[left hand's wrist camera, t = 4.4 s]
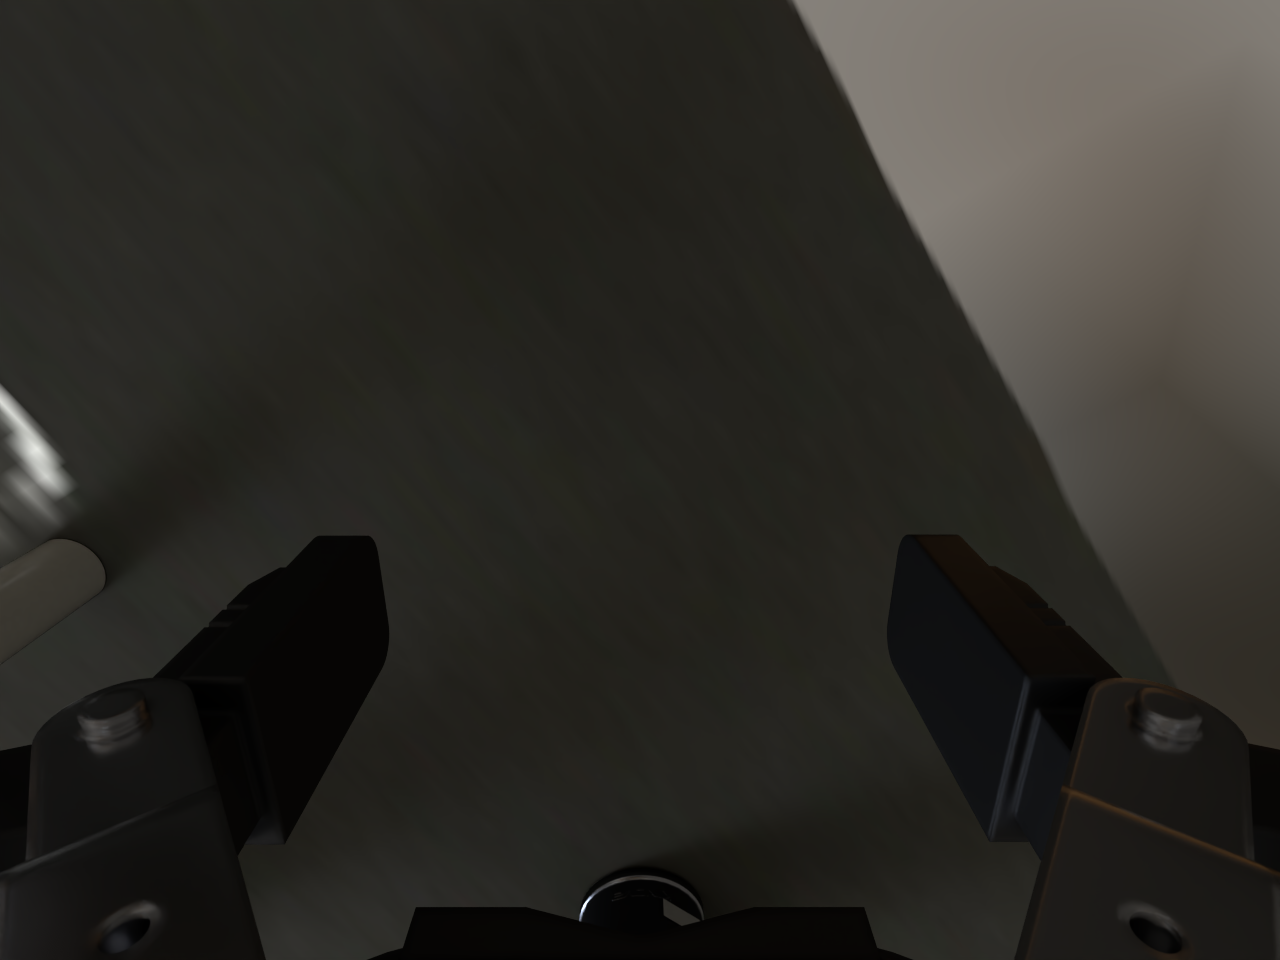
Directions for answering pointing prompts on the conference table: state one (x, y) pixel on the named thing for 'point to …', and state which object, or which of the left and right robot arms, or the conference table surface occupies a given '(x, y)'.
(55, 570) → the white tall cylinder
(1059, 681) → the left robot arm
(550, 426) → the conference table surface
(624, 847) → the conference table surface
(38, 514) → the conference table surface
